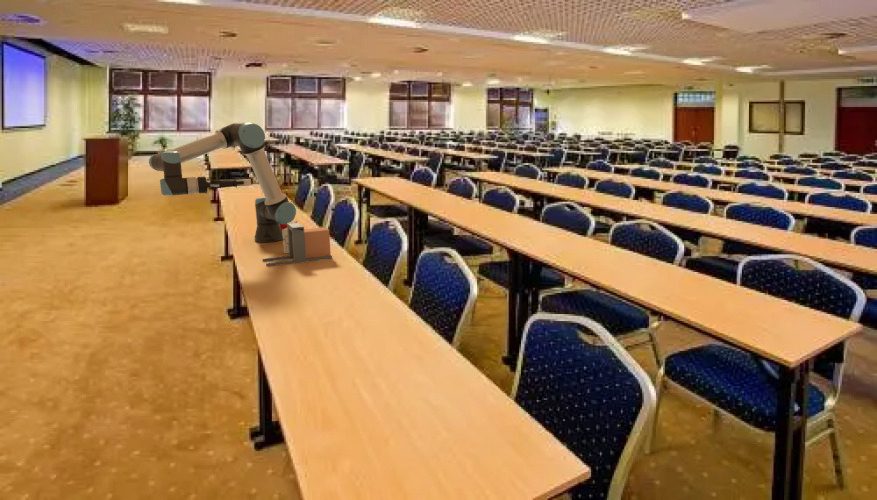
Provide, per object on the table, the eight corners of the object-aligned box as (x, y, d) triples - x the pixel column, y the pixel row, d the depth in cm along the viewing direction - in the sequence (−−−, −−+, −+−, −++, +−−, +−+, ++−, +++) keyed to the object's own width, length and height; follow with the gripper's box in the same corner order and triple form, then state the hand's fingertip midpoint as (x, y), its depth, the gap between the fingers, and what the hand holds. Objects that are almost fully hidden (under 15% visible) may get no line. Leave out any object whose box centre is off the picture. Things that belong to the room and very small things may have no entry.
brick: (296, 260, 282) (294, 233, 279) (293, 257, 288) (291, 230, 285) (330, 256, 288) (329, 229, 285) (326, 253, 294) (325, 227, 291)
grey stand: (267, 266, 273) (264, 230, 270) (262, 260, 285) (259, 225, 281) (332, 258, 286) (330, 224, 282) (325, 253, 297) (323, 219, 293)
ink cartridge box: (291, 249, 306) (288, 220, 303) (300, 249, 305) (298, 220, 302) (283, 253, 298) (281, 223, 295) (292, 253, 297) (290, 223, 294)
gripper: (197, 191, 286) (249, 188, 295) (199, 195, 274) (253, 191, 284) (195, 175, 284) (248, 172, 294) (197, 178, 272) (252, 175, 282)
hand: (250, 182), depth 289 cm, fingers closed
